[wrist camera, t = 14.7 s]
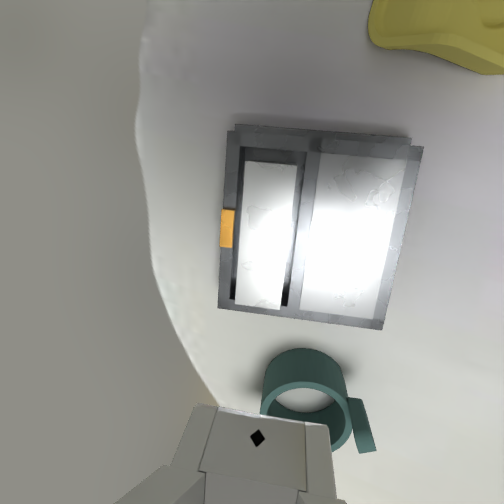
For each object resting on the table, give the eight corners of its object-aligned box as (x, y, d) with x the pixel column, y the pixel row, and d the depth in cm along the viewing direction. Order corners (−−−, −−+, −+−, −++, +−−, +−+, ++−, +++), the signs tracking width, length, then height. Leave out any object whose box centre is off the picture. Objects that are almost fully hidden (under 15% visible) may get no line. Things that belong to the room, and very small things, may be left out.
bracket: (248, 392, 36) (233, 468, 27) (294, 330, 33) (294, 394, 24) (318, 432, 36) (325, 519, 27) (370, 374, 33) (396, 453, 25)
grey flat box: (236, 124, 28) (226, 119, 23) (408, 138, 26) (429, 135, 22) (225, 297, 32) (215, 318, 28) (370, 316, 31) (382, 341, 27)
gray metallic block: (254, 159, 28) (245, 160, 23) (296, 163, 27) (297, 165, 22) (244, 280, 31) (234, 303, 26) (282, 285, 30) (279, 309, 26)
